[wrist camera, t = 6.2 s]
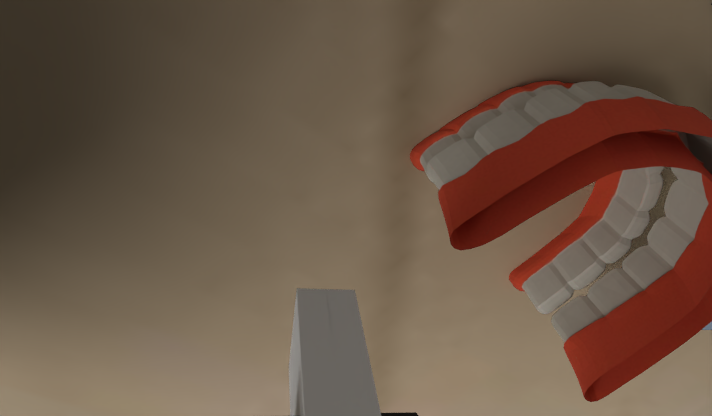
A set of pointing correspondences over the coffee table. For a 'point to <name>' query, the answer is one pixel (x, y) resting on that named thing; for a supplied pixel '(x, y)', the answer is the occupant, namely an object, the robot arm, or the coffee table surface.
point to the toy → (589, 213)
